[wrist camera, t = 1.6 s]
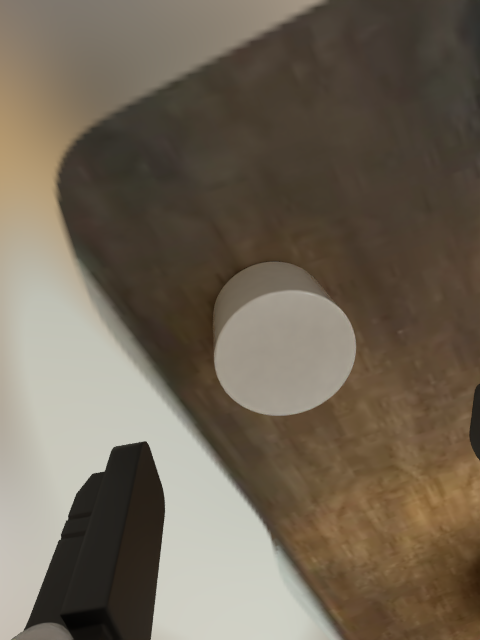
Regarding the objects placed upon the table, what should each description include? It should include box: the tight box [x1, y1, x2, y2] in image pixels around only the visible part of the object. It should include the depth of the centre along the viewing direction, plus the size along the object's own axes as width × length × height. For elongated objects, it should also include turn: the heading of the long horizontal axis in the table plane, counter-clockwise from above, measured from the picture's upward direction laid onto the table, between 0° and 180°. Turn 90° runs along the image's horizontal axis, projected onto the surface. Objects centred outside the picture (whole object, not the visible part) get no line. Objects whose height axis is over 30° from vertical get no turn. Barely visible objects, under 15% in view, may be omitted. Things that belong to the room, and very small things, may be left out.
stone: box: [213, 262, 356, 416], centre depth 14 cm, size 5×5×3 cm
